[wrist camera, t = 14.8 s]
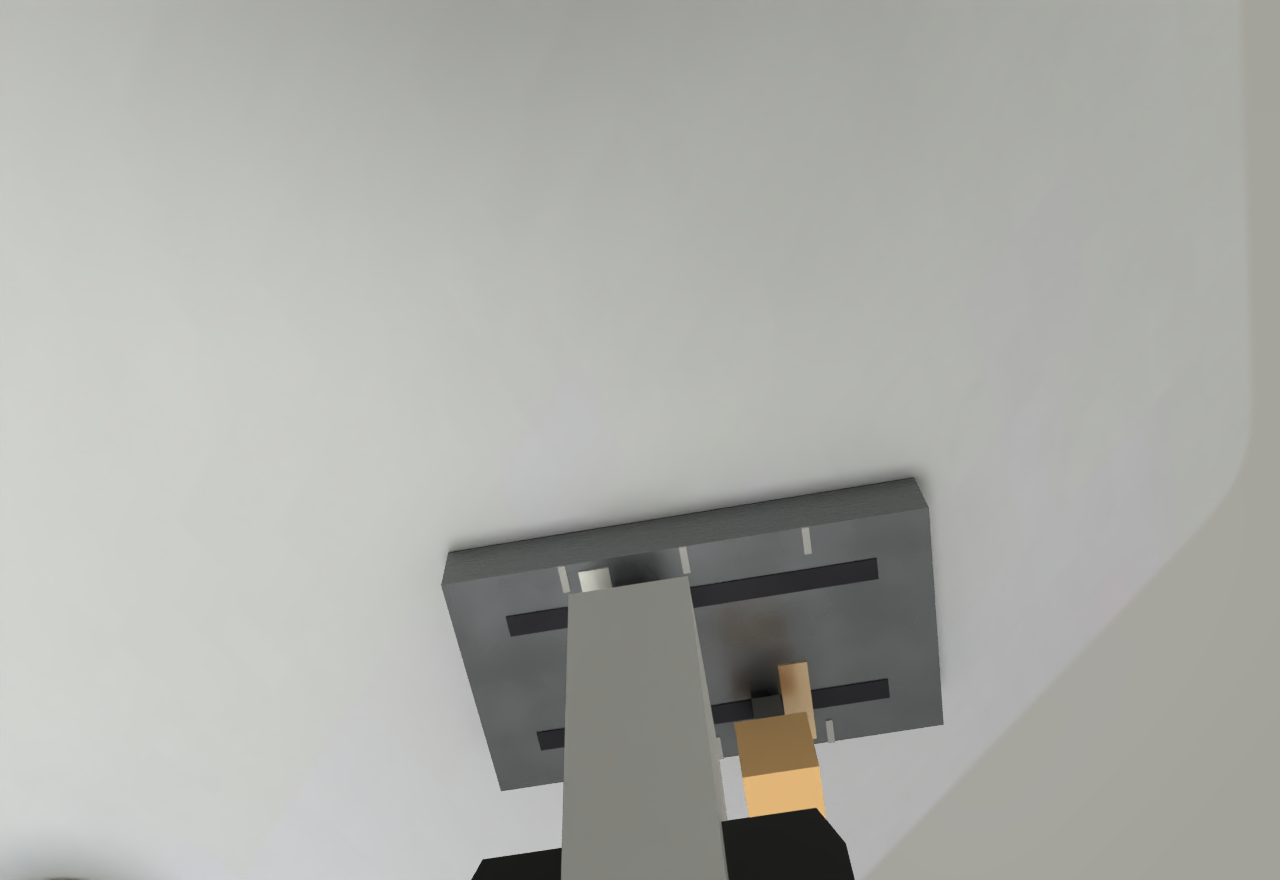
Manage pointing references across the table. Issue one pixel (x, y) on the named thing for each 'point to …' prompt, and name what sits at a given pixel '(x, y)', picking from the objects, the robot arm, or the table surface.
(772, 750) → the fader
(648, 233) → the table surface
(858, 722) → the console
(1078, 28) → the table surface
